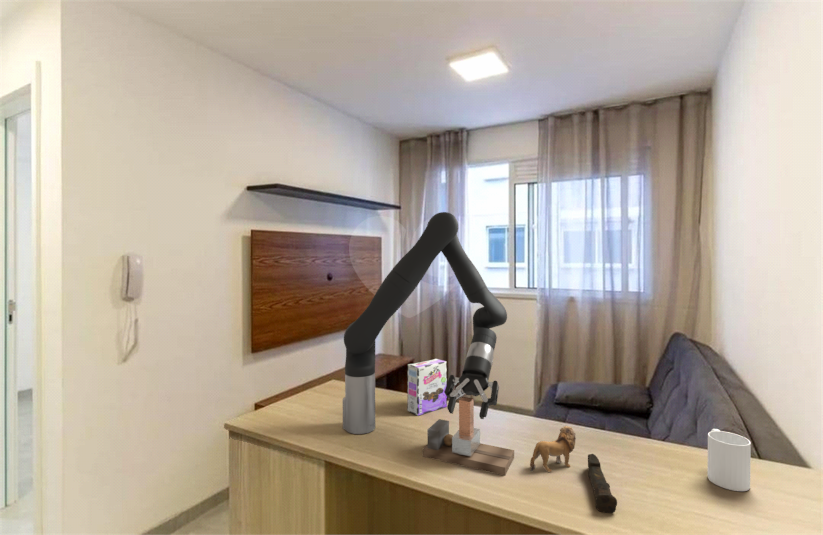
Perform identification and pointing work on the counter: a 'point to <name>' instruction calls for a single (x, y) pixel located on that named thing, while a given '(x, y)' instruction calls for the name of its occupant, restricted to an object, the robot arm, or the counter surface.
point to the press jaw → (466, 429)
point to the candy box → (427, 386)
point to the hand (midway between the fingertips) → (465, 414)
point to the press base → (481, 459)
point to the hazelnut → (448, 439)
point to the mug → (729, 460)
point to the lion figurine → (555, 448)
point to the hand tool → (600, 486)
